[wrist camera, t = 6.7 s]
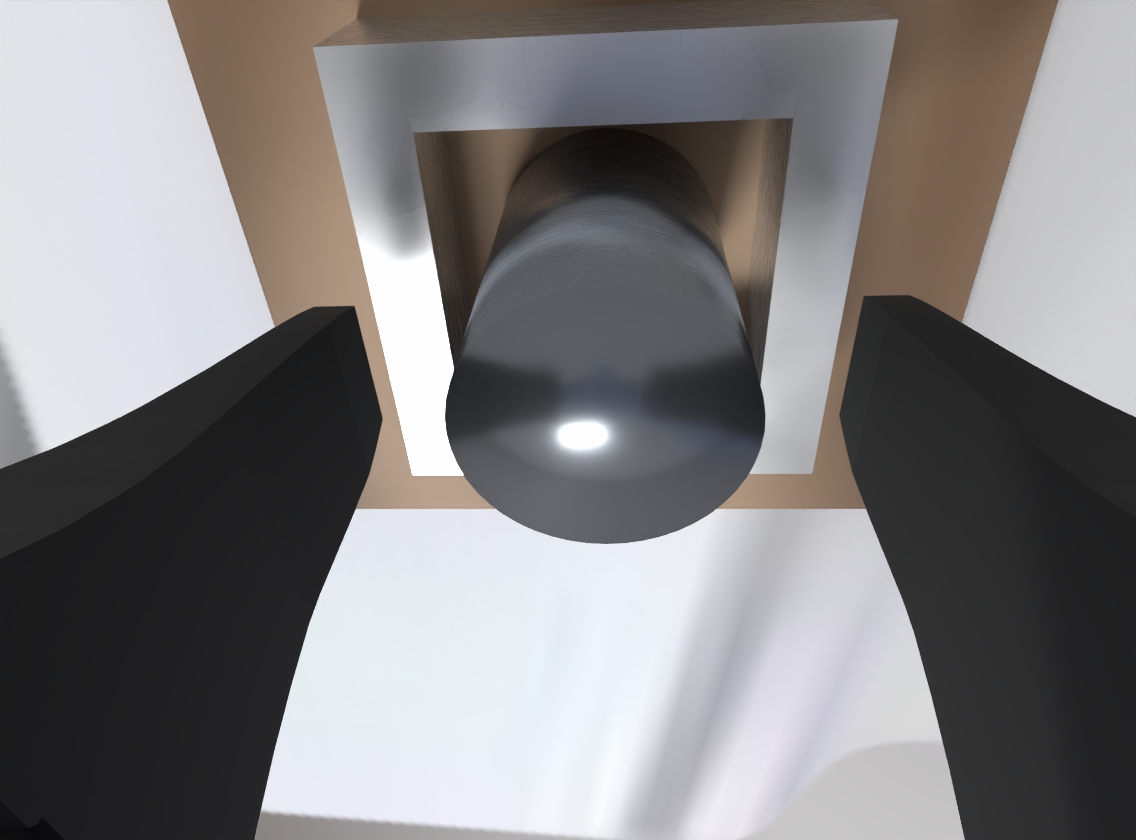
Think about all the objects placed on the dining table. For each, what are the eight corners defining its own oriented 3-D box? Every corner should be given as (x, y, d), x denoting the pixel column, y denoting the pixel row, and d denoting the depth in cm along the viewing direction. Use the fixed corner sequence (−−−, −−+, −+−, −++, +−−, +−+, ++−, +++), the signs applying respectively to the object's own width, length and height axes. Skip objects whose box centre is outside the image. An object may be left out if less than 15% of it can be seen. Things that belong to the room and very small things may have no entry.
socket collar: (856, -7, 12) (898, 19, 10) (791, 406, 16) (812, 473, 15) (357, 18, 12) (312, 46, 10) (434, 410, 17) (412, 474, 15)
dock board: (1113, -284, 10) (1145, -293, 10) (895, 485, 19) (905, 508, 18) (127, -210, 11) (96, -214, 11) (344, 487, 20) (334, 508, 19)
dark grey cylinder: (722, 123, 13) (785, 285, 8) (707, 327, 15) (749, 544, 11) (490, 132, 13) (420, 292, 8) (512, 331, 16) (466, 543, 11)
